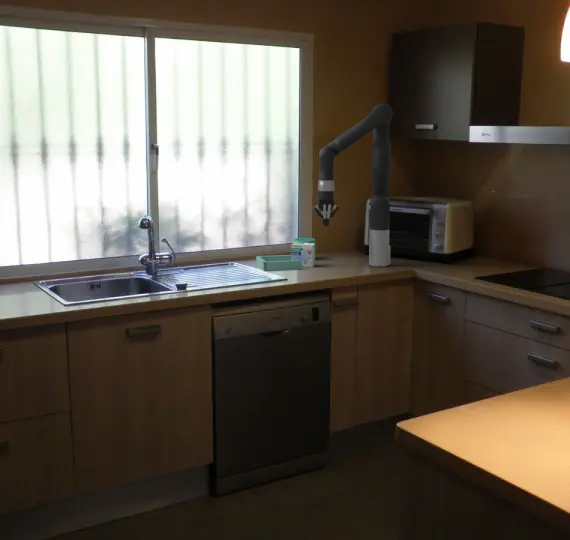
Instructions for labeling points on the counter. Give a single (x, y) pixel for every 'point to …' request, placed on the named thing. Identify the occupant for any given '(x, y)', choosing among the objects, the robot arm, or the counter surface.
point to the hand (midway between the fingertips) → (325, 226)
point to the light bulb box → (303, 253)
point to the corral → (278, 263)
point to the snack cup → (306, 241)
